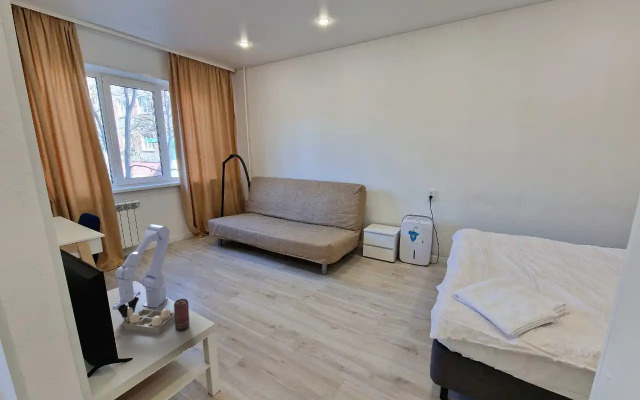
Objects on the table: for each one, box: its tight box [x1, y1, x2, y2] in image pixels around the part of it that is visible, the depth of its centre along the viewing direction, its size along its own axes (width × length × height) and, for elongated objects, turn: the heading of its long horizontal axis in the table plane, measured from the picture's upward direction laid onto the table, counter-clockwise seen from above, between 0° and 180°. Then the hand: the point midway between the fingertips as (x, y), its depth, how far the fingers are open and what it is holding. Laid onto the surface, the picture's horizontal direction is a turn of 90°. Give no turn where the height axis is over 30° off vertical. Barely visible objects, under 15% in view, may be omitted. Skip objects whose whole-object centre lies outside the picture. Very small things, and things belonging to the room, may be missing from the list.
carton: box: [122, 308, 175, 335], centre depth 132 cm, size 12×18×3 cm
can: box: [173, 298, 190, 333], centre depth 129 cm, size 6×6×14 cm
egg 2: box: [129, 312, 140, 324], centre depth 129 cm, size 4×4×6 cm
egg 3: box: [152, 316, 162, 328], centre depth 128 cm, size 4×4×6 cm
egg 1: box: [123, 306, 133, 321], centre depth 136 cm, size 4×4×6 cm
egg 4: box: [161, 308, 171, 320], centre depth 134 cm, size 4×4×6 cm
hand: (128, 314), depth 136 cm, fingers closed on egg 1, 4 cm apart
